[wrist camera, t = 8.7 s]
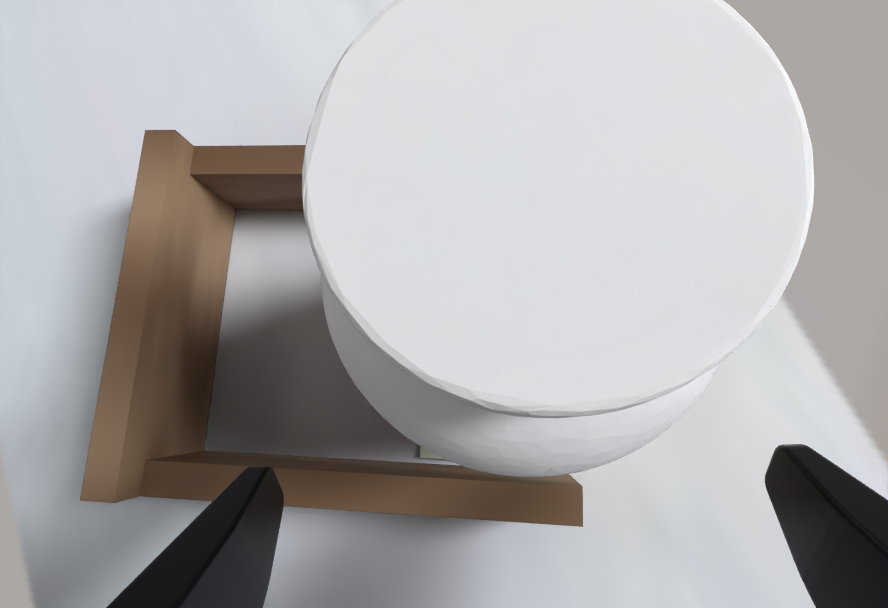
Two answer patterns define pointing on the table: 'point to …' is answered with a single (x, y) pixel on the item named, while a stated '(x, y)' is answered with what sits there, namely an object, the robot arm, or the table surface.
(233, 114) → the table surface
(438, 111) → the supplement bottle
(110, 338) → the bay
